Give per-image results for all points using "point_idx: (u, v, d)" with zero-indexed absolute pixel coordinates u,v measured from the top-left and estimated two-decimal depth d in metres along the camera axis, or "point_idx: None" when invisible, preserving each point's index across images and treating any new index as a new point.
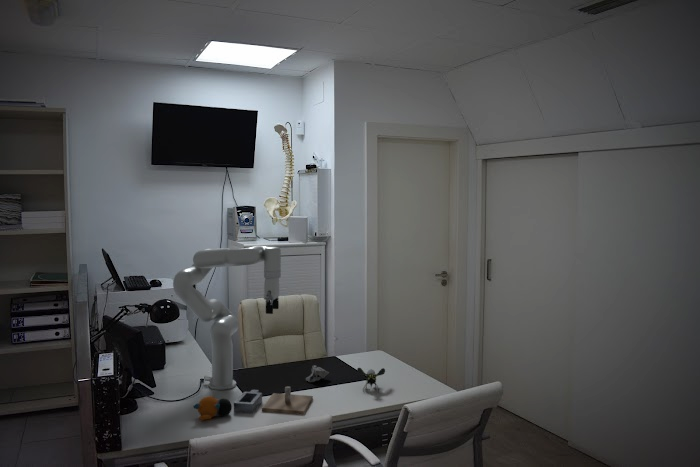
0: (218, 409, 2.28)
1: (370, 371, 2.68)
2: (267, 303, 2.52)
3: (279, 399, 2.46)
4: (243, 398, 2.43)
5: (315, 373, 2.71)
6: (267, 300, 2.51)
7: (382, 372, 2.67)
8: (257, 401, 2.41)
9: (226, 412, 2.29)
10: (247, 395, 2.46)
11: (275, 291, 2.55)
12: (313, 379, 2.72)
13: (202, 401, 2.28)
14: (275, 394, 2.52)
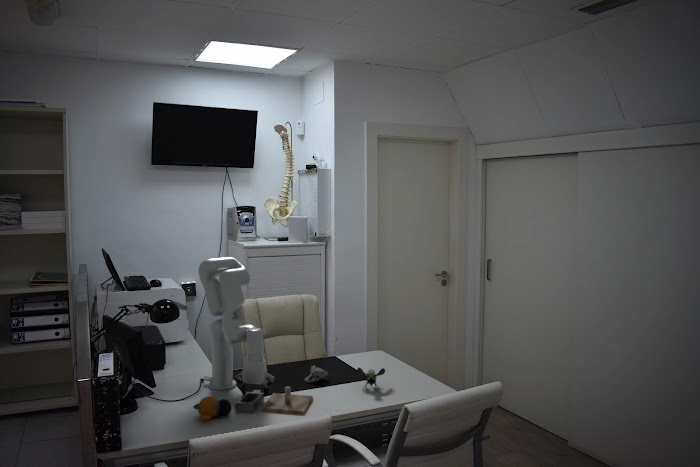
0: (218, 409, 2.28)
1: (370, 371, 2.68)
2: (269, 384, 2.47)
3: (279, 399, 2.46)
4: (245, 398, 2.42)
5: (314, 373, 2.70)
6: (272, 381, 2.47)
7: (382, 372, 2.67)
8: (259, 401, 2.41)
9: (226, 412, 2.29)
10: (249, 395, 2.46)
11: None
12: (312, 379, 2.72)
13: (202, 401, 2.28)
14: (275, 394, 2.52)
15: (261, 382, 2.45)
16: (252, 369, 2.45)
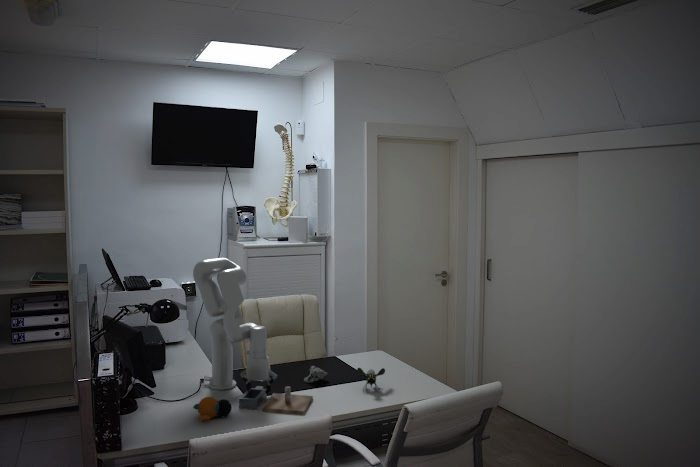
0: (218, 410, 2.28)
1: (370, 371, 2.68)
2: None
3: (279, 399, 2.46)
4: (248, 394, 2.47)
5: (313, 374, 2.70)
6: None
7: (382, 372, 2.67)
8: (262, 397, 2.46)
9: (226, 413, 2.29)
10: (252, 391, 2.51)
11: None
12: (311, 380, 2.71)
13: (202, 401, 2.27)
14: (275, 394, 2.52)
15: (265, 379, 2.50)
16: (256, 366, 2.50)
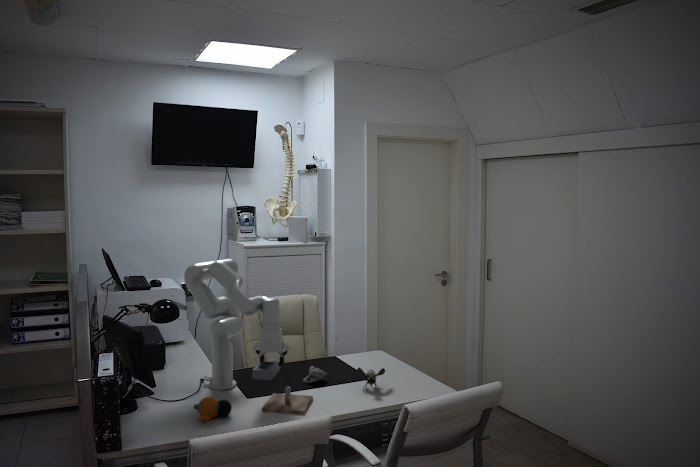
0: (217, 410, 2.28)
1: (370, 371, 2.68)
2: (285, 354, 2.50)
3: (279, 399, 2.46)
4: (261, 366, 2.45)
5: (312, 374, 2.70)
6: None
7: (382, 372, 2.67)
8: (275, 368, 2.44)
9: (225, 413, 2.28)
10: (265, 363, 2.49)
11: None
12: (310, 380, 2.71)
13: (201, 402, 2.27)
14: (275, 394, 2.52)
15: (278, 351, 2.48)
16: (269, 338, 2.48)
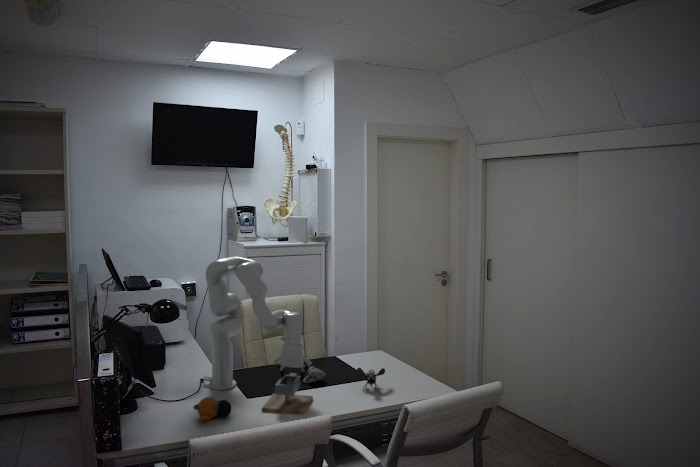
0: (217, 410, 2.27)
1: (370, 371, 2.68)
2: (306, 369, 2.49)
3: (279, 399, 2.46)
4: (283, 381, 2.44)
5: (311, 374, 2.69)
6: (309, 365, 2.49)
7: (382, 372, 2.67)
8: (297, 384, 2.43)
9: (225, 413, 2.28)
10: (286, 378, 2.48)
11: None
12: (309, 380, 2.71)
13: (201, 402, 2.27)
14: (275, 394, 2.52)
15: (299, 366, 2.47)
16: (290, 353, 2.47)
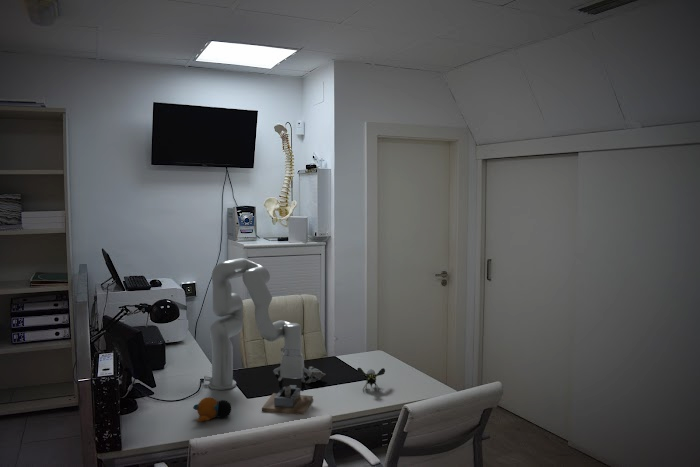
0: (217, 410, 2.27)
1: (370, 371, 2.68)
2: (307, 379, 2.49)
3: None
4: (282, 393, 2.45)
5: None
6: None
7: (382, 372, 2.67)
8: (297, 396, 2.44)
9: (225, 414, 2.28)
10: None
11: None
12: (308, 380, 2.70)
13: (201, 402, 2.27)
14: (275, 394, 2.52)
15: (299, 377, 2.47)
16: (290, 364, 2.47)
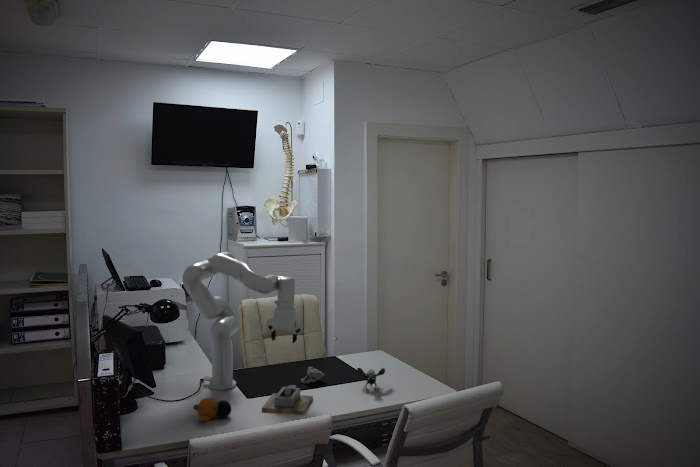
0: (217, 411, 2.27)
1: (370, 371, 2.68)
2: None
3: None
4: (282, 393, 2.45)
5: (309, 374, 2.69)
6: (301, 328, 2.57)
7: (382, 372, 2.67)
8: (297, 396, 2.44)
9: (225, 414, 2.27)
10: None
11: None
12: (307, 380, 2.70)
13: (201, 402, 2.27)
14: (275, 394, 2.52)
15: (290, 328, 2.55)
16: (282, 316, 2.55)
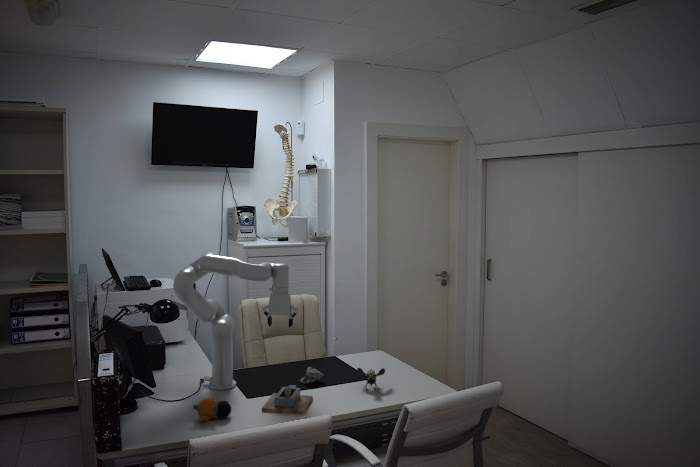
0: (217, 411, 2.26)
1: (370, 371, 2.68)
2: None
3: None
4: (282, 393, 2.45)
5: (308, 375, 2.69)
6: (296, 313, 2.64)
7: (382, 372, 2.67)
8: (297, 396, 2.44)
9: (225, 414, 2.27)
10: None
11: None
12: (306, 380, 2.70)
13: (201, 402, 2.27)
14: (275, 394, 2.52)
15: (286, 313, 2.62)
16: (278, 301, 2.62)
